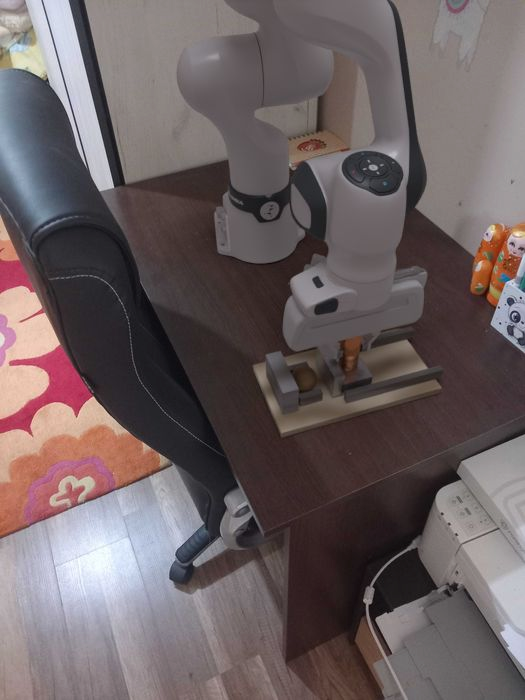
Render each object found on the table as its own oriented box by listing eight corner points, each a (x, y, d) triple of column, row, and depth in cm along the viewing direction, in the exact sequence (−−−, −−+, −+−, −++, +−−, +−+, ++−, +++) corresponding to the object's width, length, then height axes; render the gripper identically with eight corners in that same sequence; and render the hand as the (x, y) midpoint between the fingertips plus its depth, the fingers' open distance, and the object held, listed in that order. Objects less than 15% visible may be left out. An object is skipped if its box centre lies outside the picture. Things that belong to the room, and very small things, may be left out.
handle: (315, 364, 87) (318, 316, 79) (352, 355, 88) (358, 307, 81) (332, 397, 82) (337, 349, 75) (370, 386, 83) (379, 338, 76)
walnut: (286, 381, 85) (286, 363, 82) (310, 374, 86) (311, 357, 83) (295, 400, 82) (295, 383, 79) (320, 393, 83) (321, 376, 80)
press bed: (253, 369, 88) (251, 343, 84) (403, 331, 94) (409, 304, 89) (281, 437, 79) (281, 411, 75) (446, 391, 84) (455, 364, 80)
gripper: (418, 250, 76) (402, 322, 86) (278, 281, 72) (279, 353, 82) (441, 277, 71) (422, 350, 81) (294, 311, 68) (293, 383, 78)
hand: (349, 352), depth 82 cm, fingers closed on handle, 3 cm apart
